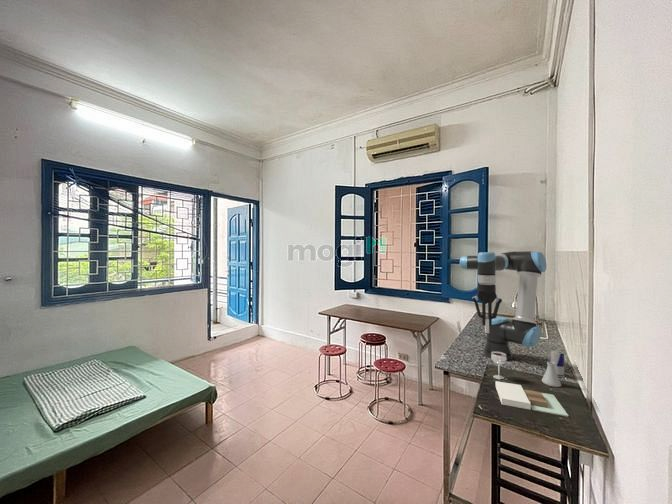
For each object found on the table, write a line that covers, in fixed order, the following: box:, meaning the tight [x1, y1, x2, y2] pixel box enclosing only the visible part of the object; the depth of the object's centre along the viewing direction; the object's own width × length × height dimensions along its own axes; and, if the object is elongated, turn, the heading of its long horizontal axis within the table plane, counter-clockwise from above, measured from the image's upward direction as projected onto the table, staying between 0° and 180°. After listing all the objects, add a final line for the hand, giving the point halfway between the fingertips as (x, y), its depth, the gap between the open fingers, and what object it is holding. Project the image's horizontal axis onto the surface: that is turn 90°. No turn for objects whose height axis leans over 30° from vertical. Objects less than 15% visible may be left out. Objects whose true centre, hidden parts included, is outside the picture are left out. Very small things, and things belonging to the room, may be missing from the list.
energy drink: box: [550, 349, 565, 378], centre depth 136 cm, size 5×5×12 cm
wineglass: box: [490, 351, 508, 380], centre depth 134 cm, size 7×7×12 cm
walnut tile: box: [523, 388, 548, 408], centre depth 112 cm, size 9×6×2 cm, turn 157°
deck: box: [495, 380, 532, 410], centre depth 116 cm, size 16×10×2 cm, turn 157°
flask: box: [541, 361, 563, 388], centre depth 127 cm, size 7×7×10 cm
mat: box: [531, 392, 569, 418], centre depth 112 cm, size 16×12×1 cm
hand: (487, 332), depth 129 cm, fingers closed
